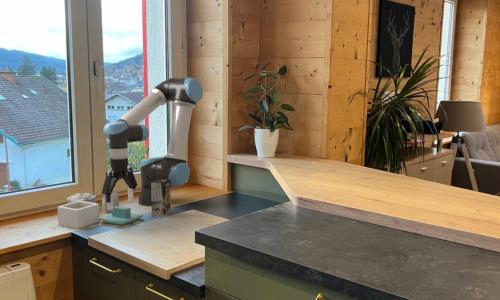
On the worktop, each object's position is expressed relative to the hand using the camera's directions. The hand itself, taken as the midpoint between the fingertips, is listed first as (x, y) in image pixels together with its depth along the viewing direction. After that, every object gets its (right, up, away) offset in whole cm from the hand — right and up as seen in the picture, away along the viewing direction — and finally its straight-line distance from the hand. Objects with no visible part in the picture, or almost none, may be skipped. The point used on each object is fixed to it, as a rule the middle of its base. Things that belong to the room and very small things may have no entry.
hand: (120, 206), depth 208 cm
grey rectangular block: (-10, -5, +19) cm, 22 cm away
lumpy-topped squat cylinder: (-23, -5, +17) cm, 29 cm away
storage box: (-18, -7, -1) cm, 19 cm away
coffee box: (+16, -6, +13) cm, 21 cm away
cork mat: (0, -7, +1) cm, 7 cm away
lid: (0, -6, +1) cm, 6 cm away
